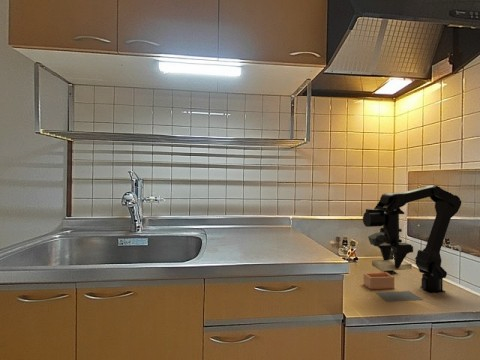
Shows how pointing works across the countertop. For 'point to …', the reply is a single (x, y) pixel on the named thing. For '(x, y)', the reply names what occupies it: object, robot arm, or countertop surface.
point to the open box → (378, 280)
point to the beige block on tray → (390, 265)
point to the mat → (398, 296)
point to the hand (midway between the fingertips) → (391, 265)
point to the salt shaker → (390, 270)
